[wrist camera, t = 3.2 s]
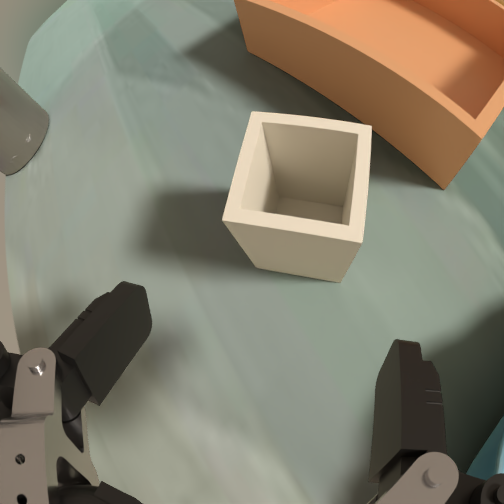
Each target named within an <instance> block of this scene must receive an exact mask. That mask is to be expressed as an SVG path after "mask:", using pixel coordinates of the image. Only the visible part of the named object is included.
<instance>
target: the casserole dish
mask: <svg viewBox="0 0 504 504" xmlns="http://www.w3.org/2000/svg"><path fill="white" fill-rule="evenodd" d="M499 473H504V415H503V417H502V418H501V420H500V421H499V423H498V424H497V426H496V427H495V429H494V430H493V432H492V433H491V435H490V436H489V438H488V439H487V441H486V442H485V444H484V445H483V447H482V448H481V450H480V451H479V453H478V454H477V456H476V458H475V459H474V461H473V462H472V464H471V466H470V467H469V469H468V471H467V473H466V474H467V475H470V476H473V477H477V478H480V479H483V480H488V479H489V478H490V477H492V476H493V475H496V474H499Z"/></svg>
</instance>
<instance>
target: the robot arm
mask: <svg viewBox="0 0 504 504" xmlns="http://www.w3.org/2000/svg"><path fill="white" fill-rule="evenodd" d="M48 125H49V115H48V114H47V112H46V111H45V110H44V109H43V108H42V107H41V106H40V105H39V104H38V103H37V102H35V101H34V100H33V99H32V98H31V97H30V96H29V95H28V94H27V93H26V92H25V91H24V90H23V89H22V88H21V87H20V86H19V85H18V84H17V83H16V82H15V81H14V80H13V79H12V78H11V77H10V76H9V75H8V74H6V72H4V70H3V69H2V68H0V171H1V172H2V173H4V174H6V175H10V174H13V173H15V172H17V171H18V170H20V169H21V168H22V167H23V166H24V165H25V164H26V163H27V162H28V161H29V160H30V159H31V158H32V156H33V155H34V154H35V153H36V151H37V149H38V148H39V146H40V145H41V143H42V141H43V139H44V137H45V135H46V132H47V129H48ZM151 328H152V318H151V314H150V309H149V304H148V299H147V294H146V290H145V288H144V287H143V286H140V285H136V284H133V283H129V282H125V281H123V282H120V283H119V284H118V285H117V286H116V287H115V288H114V289H113V290H112V291H111V292H110V293H109V292H107V293H105V294H103V295H102V296H100V297H98V298H96V299H95V300H94V301H93V302H92V303H91V304H90V305H89V306H88V307H87V308H86V310H85V311H83V312H82V313H81V314H80V315H79V316H78V319H75V321H74V322H73V323H72V324H71V325H70V326H69V327H68V328H67V329H66V330H65V331H64V332H63V333H62V334H61V336H60V337H59V338H58V339H57V340H56V341H55V342H54V343H53V344H52V345H51V346H50V347H49V348H48V349H47V348H43V347H39V348H34V349H31V350H29V351H28V352H26V353H25V354H24V355H19V354H14V353H8V352H7V351H6V349H5V348H4V345H3V344H2V342H1V341H0V504H142V503H141V502H140V501H138V500H137V499H136V498H134V497H132V496H130V495H128V494H126V493H124V492H122V491H120V490H118V489H116V488H114V487H112V486H110V485H108V484H106V483H105V482H103V481H101V483H99V479H98V475H97V472H96V469H95V467H94V465H93V463H92V461H91V457H90V451H89V443H88V433H87V422H86V410H85V407H84V405H85V404H86V402H87V401H88V400H89V401H91V402H93V403H95V404H97V405H99V406H100V404H101V403H102V401H103V400H104V399H105V397H106V396H107V394H108V393H109V391H110V390H111V388H112V387H113V386H114V384H115V383H116V381H117V380H118V378H119V377H120V376H121V374H122V373H123V371H124V370H125V369H126V367H127V366H128V364H129V363H130V361H131V360H132V359H133V357H134V356H135V354H136V353H137V352H138V350H139V349H140V347H141V346H142V345H143V343H144V342H145V341H146V339H147V338H148V336H149V334H150V331H151ZM440 392H441V386H440V379H439V374H438V373H437V371H436V369H435V367H434V366H433V364H432V362H431V361H423V360H422V354H421V347H420V344H419V343H418V342H412V341H405V340H398V339H395V340H394V342H393V343H392V346H391V348H390V350H389V352H388V354H387V357H386V359H385V361H384V363H383V365H382V367H381V369H380V371H379V374H378V377H377V381H376V388H375V408H374V425H373V438H372V450H371V460H370V470H369V478H368V482H374V483H379V488H378V493H377V494H376V495H375V496H374V497H373V498H372V499H371V500H370V501H369V502H368V503H367V504H504V473H499V474H496V475H493V476H492V477H490V478H489V479H488V480H483V479H480V478H477V477H473V476H470V475H467V474H464V473H462V472H460V471H459V470H458V469H457V466H456V464H455V462H454V461H453V460H452V459H451V458H450V457H449V456H448V455H447V450H446V435H445V423H444V412H443V405H442V394H441V393H440Z"/></svg>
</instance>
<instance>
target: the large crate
mask: <svg viewBox="0 0 504 504" xmlns="http://www.w3.org/2000/svg"><path fill="white" fill-rule="evenodd" d="M234 2H235V6H236V9H237V13H238V17H239V20H240V24H241V28H242V32H243V35H244V39H245V43H246V47H247V51H248V52H250V53H252V54H254V55H256V56H258V57H260V58H261V59H263V60H265V61H267V62H269V63H271V64H272V65H274V66H276V67H278V68H279V69H281V70H283V71H285V72H286V73H288V74H290V75H291V76H293V77H295V78H296V79H298V80H300V81H301V82H303V83H305V84H306V85H308V86H309V87H311V88H313V89H314V90H316V91H317V92H319V93H320V94H322V95H324V96H325V97H327V98H328V99H330V100H331V101H333V102H334V103H336V104H337V105H339V106H340V107H341V108H343V109H344V110H346V111H347V112H349V113H350V114H351V115H353V116H354V117H356V118H357V119H358V120H360V121H361V122H363V123H364V124H365V125H370V126H372V130H373V131H375V132H376V133H377V134H379V135H380V136H381V137H382V138H384V139H385V140H386V141H388V142H389V143H390V144H391V145H393V146H394V147H395V148H396V149H398V150H399V151H400V152H401V153H402V154H404V155H405V156H406V157H407V158H408V159H410V160H411V161H412V162H413V163H414V164H416V165H417V166H418V167H419V168H420V169H421V170H422V171H424V172H425V173H426V174H427V175H428V176H429V177H430V178H431V179H433V180H434V181H435V182H436V183H437V184H438V185H439V186H440V187H441V188H442V189H443V190H444V189H445V188H446V187H447V186H448V184H449V183H450V182H451V181H452V179H453V178H454V177H455V175H456V174H457V173H458V171H459V170H460V169H461V167H462V166H463V165H464V163H465V162H466V161H467V159H468V158H469V157H470V155H471V154H472V152H473V151H474V150H475V148H476V147H477V145H478V144H479V143H480V141H481V140H482V138H483V137H484V136H485V134H486V133H487V131H488V130H489V128H490V127H491V125H492V124H493V122H494V121H495V119H496V118H497V116H498V115H499V113H500V112H501V110H502V109H503V107H504V6H502V5H501V4H499V3H498V2H496V1H495V0H234Z"/></svg>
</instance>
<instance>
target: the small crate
mask: <svg viewBox="0 0 504 504" xmlns="http://www.w3.org/2000/svg"><path fill="white" fill-rule="evenodd" d="M371 135H372V126H370V125H364V124H358V123H352V122H346V121H339V120H332V119H325V118H317V117H309V116H300V115H290V114H279V113H267V112H253V111H252V113H251V116H250V120H249V123H248V127H247V130H246V134H245V137H244V141H243V144H242V148H241V151H240V155H239V159H238V162H237V166H236V169H235V173H234V177H233V180H232V184H231V188H230V192H229V195H228V199H227V203H226V207H225V210H224V214H223V218H222V221H223V222H224V224H225V225H226V227H227V228H228V229H229V231H230V232H231V233H232V235H233V236H234V238H235V239H236V240H237V242H238V243H239V245H240V246H241V247H242V249H243V250H244V251H245V253H246V254H247V256H248V257H249V258H250V260H251V261H252V262H253V264H254V265H255V267H256V268H260V269H265V270H271V271H276V272H282V273H287V274H293V275H298V276H304V277H310V278H315V279H321V280H327V281H332V282H338V283H341V281H342V279H343V277H344V276H345V274H346V272H347V270H348V269H349V267H350V265H351V263H352V261H353V259H354V258H355V256H356V254H357V252H358V250H359V248H360V246H361V244H362V241H363V233H364V224H365V215H366V205H367V195H368V183H369V170H370V155H371Z"/></svg>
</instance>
